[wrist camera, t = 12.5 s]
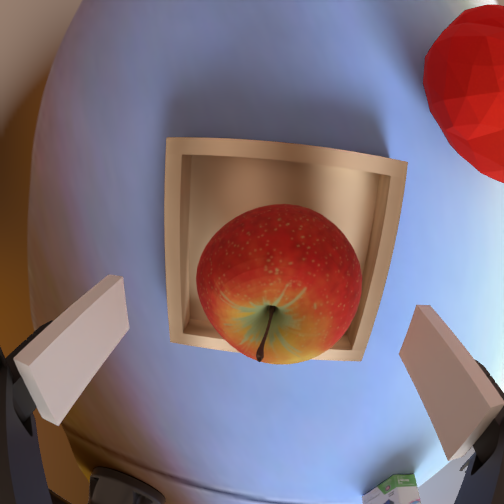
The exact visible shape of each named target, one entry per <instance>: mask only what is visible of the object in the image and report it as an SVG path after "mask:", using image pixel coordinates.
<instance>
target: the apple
mask: <svg viewBox="0 0 504 504" xmlns="http://www.w3.org/2000/svg"><path fill="white" fill-rule="evenodd" d="M196 285H197V292H198V296H199V300H200V303H201V305H202V308H203V310H204V312H205V314H206V316H207V318H208V320H209V321H210V323H211V324H212V326H213V327H214V328H215V330H216V331H217V332H218V333H219V334H220V336H221V337H222V338H223V339H224V340H225V341H227V342H228V343H229V344H230V345H231V346H232V347H234V348H235V349H236V350H237V351H239V352H241V353H242V354H244V355H246V356H247V357H250V358H252V359H254V360H257V361H258V362H264V363H270V364H293V363H299V362H303V361H307V360H310V359H312V358H314V357H317V356H319V355H321V354H322V353H324V352H325V351H327V350H328V349H330V348H331V347H332V346H333V345H334V344H335V343H336V342H337V341H338V340H339V339H341V337H342V336H343V334H344V333H345V332H346V330H347V329H348V327H349V326H350V324H351V322H352V320H353V318H354V316H355V314H356V312H357V309H358V305H359V302H360V298H361V292H362V273H361V267H360V263H359V260H358V258H357V255H356V253H355V251H354V249H353V247H352V245H351V244H350V242H349V241H348V239H347V238H346V236H345V235H344V233H343V232H342V231H341V230H340V229H339V228H338V227H337V226H336V225H335V224H334V223H333V222H331V221H330V220H328V219H327V218H326V217H324V216H323V215H322V214H320V213H318V212H316V211H314V210H312V209H309V208H306V207H302V206H299V205H291V204H273V205H267V206H263V207H258V208H255V209H253V210H250V211H247V212H245V213H243V214H241V215H239V216H237V217H235V218H234V219H232V220H231V221H229V222H228V223H227V224H225V225H224V226H223V227H222V228H221V229H220V230H219V231H218V232H216V233H215V235H214V236H213V237H212V238H211V239H210V241H209V242H208V243H207V245H206V247H205V248H204V250H203V252H202V254H201V257H200V260H199V263H198V266H197V273H196Z"/></svg>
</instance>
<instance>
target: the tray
mask: <svg viewBox="0 0 504 504" xmlns="http://www.w3.org/2000/svg"><path fill="white" fill-rule="evenodd" d="M407 165H408V162H405V161H400V160H395V159H391V158H386V157H381V156H375V155H370V154H364V153H359V152H353V151H346V150H340V149H333V148H326V147H319V146H311V145H302V144H293V143H284V142H273V141H261V140H246V139H228V138H194V137H167V139H166V160H165V199H164V228H165V268H166V289H167V305H168V319H169V331H170V342H173V343H179V344H184V345H190V346H196V347H203V348H209V349H216V350H223V351H231V352H239V351H237V350H236V349H235V348H234V347H232V346H231V345H230V344H229V343H228V342H227V341H225V340H224V339H223V338H222V337H221V336H220V334H219V333H218V332H217V331H216V330H215V328H214V327H213V326H212V324H211V323H210V321H209V320H208V318H207V316H206V314H205V312H204V310H203V308H202V305H201V303H200V300H199V296H198V292H197V285H196V273H197V266H198V263H199V260H200V257H201V254H202V252H203V250H204V248H205V247H206V245H207V243H208V242H209V241H210V239H211V238H212V237H213V236H214V235H215V233H216V232H218V231H219V230H220V229H221V228H222V227H223V226H224V225H225V224H227V223H228V222H229V221H231V220H232V219H234V218H235V217H237V216H239V215H241V214H243V213H245V212H247V211H250V210H253V209H255V208H258V207H263V206H267V205H273V204H291V205H299V206H302V207H306V208H309V209H312V210H314V211H316V212H318V213H320V214H322V215H323V216H324V217H326V218H327V219H328V220H330V221H331V222H333V223H334V224H335V225H336V226H337V227H338V228H339V229H340V230H341V231H342V232H343V233H344V235H345V236H346V238H347V239H348V241H349V242H350V244H351V245H352V247H353V249H354V251H355V253H356V255H357V258H358V260H359V263H360V267H361V273H362V292H361V298H360V302H359V305H358V309H357V312H356V314H355V316H354V318H353V320H352V322H351V324H350V326H349V327H348V329H347V330H346V332H345V333H344V334H343V336H342V337H341V339H339V340H338V341H337V342H336V343H335V344H334V345H333V346H332V347H331V348H330V349H328V350H327V351H325V352H324V353H322V354H321V355H319V356H317V357H314V358H312V359H316V360H337V361H361V360H362V358H363V355H364V352H365V349H366V346H367V343H368V340H369V337H370V334H371V331H372V328H373V325H374V321H375V318H376V315H377V311H378V308H379V305H380V301H381V297H382V294H383V290H384V286H385V283H386V279H387V275H388V271H389V266H390V262H391V258H392V253H393V249H394V244H395V239H396V235H397V230H398V224H399V219H400V213H401V207H402V201H403V195H404V188H405V181H406V173H407ZM239 353H241V352H239Z"/></svg>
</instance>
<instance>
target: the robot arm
mask: <svg viewBox="0 0 504 504" xmlns="http://www.w3.org/2000/svg"><path fill="white" fill-rule="evenodd" d="M128 330H129V322H128V315H127V308H126V300H125V292H124V283H123V277H122V276H115V275H108V276H106V277H105V278H104V279H103V280H101V281H100V282H99V283H98V284H96V285H95V286H94V287H93V288H92V289H90V290H89V291H88V292H87V293H86V294H84V295H83V296H82V297H81V298H80V299H78V300H77V301H76V302H75V303H74V304H72V305H71V306H70V307H69V308H68V309H67V310H65V311H64V312H63V313H62V314H61V315H60V316H59V317H57V318H56V319H55V320H54V321H50V322H48V323H46V324H44V325H42V326H40V327H39V328H38V329H37V330H36V331H35V332H33V334H31V335H30V336H29V337H28V338H27V340H25V341H24V342H22V343H21V345H19V346H18V347H17V348H16V349H15V350H14V351H13V352H12V353H11V354H10V355H8V356H7V357H6V358H5V357H4V355H3V352H2V350H1V347H0V504H71V503H70V502H68V501H67V500H65V499H63V498H62V497H61V496H59V495H57V494H56V493H55V492H53V491H52V490H50V489H49V488H48V486H47V482H46V478H45V474H44V469H43V465H42V460H41V454H40V449H39V444H38V436H37V429H36V422H35V418H34V415H33V413H32V412H33V411H34V410H35V408H36V407H37V409H38V411H39V413H40V414H41V416H42V418H43V419H45V420H47V421H49V422H51V423H53V424H55V425H57V426H59V425H60V423H61V422H62V420H63V419H64V417H65V416H66V414H67V413H68V411H69V410H70V409H71V407H72V406H73V404H74V403H75V401H76V400H77V399H78V397H79V396H80V394H81V393H82V392H83V390H84V389H85V387H86V386H87V385H88V383H89V382H90V380H91V379H92V378H93V376H94V375H95V374H96V372H97V371H98V369H99V368H100V367H101V365H102V364H103V363H104V361H105V360H106V359H107V357H108V356H109V355H110V353H111V352H112V351H113V349H114V348H115V347H116V345H117V344H118V343H119V341H120V340H121V339H122V337H123V336H124V335H125V334H126V332H127V331H128ZM399 355H400V357H401V359H402V361H403V363H404V365H405V367H406V369H407V371H408V373H409V375H410V377H411V379H412V381H413V383H414V385H415V387H416V389H417V391H418V393H419V395H420V398H421V400H422V402H423V404H424V406H425V408H426V410H427V413H428V415H429V417H430V419H431V422H432V424H433V426H434V428H435V431H436V433H437V435H438V438H439V440H440V442H441V445H442V447H443V450H444V452H445V455H446V457H447V460H448V461H450V460H454V459H457V458H460V457H463V456H464V455H465V454H466V453H467V452H468V451H469V450H470V449H471V447H472V446H473V447H474V449H475V453H474V454H473V455H472V456H471V457H470V458H469V459H468V460H467V461H466V463H465V464H464V465H463V466H462V467H461V469H460V471H462V470H463V469H464V468H465V467H466V466H468V468H467V470H466V471H465V473H466V474H465V477H464V480H463V482H462V485H461V488H460V490H459V493H458V496H457V498H456V500H455V503H454V504H504V393H503V392H502V390H501V389H500V387H499V386H498V385H497V383H495V380H494V379H493V378H492V376H490V374H489V372H488V371H487V370H486V368H485V367H484V366H483V365H482V364H480V363H479V362H478V361H477V360H474V359H473V357H472V356H471V355H470V353H469V352H468V351H467V350H466V348H465V347H464V346H463V344H462V343H461V342H460V341H459V339H458V338H457V337H456V336H455V334H454V333H453V332H452V331H451V330H450V328H449V327H448V326H447V325H446V324H445V322H444V321H443V320H442V319H441V318H440V316H439V315H438V314H437V313H436V312H435V311H434V309H433V308H432V307H431V306H430V305H416V308H415V311H414V314H413V317H412V320H411V323H410V326H409V329H408V331H407V334H406V337H405V339H404V342H403V345H402V347H401V350H400V352H399ZM164 503H165V498H164V496H163V495H162V494H161V493H159V492H158V491H157V490H155V489H154V488H152V487H150V486H148V485H147V484H145V483H143V482H141V481H139V480H137V479H135V478H133V477H130V476H128V475H126V474H123V473H120V472H118V471H115V470H112V469H108V468H103V467H96V468H94V470H93V472H92V474H91V476H90V487H89V501H88V504H164Z"/></svg>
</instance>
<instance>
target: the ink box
mask: <svg viewBox="0 0 504 504" xmlns="http://www.w3.org/2000/svg"><path fill="white" fill-rule="evenodd" d="M362 501H363V504H421V501H420V497H419V492H418V488H417V484H416V479H415V475H414V474H409V475H393V476H391V477H390V478H388V479H387V480H386V481H384V482H383V483H381V484H380V485H379V486H377V487H376V488H374V489H373V490H371V491H370V492H368V493H367V494H365V495H364V496H362Z"/></svg>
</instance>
